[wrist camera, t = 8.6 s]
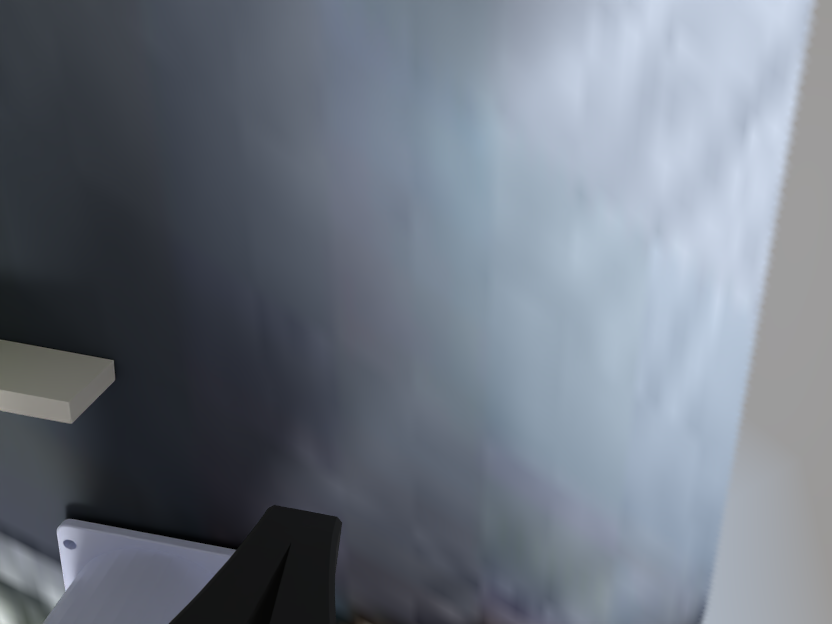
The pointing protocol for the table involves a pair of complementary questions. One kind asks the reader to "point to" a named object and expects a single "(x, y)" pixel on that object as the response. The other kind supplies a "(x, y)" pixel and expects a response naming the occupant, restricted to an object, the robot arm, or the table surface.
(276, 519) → the robot arm
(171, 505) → the table surface
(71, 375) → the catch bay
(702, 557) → the table surface
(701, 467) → the table surface
